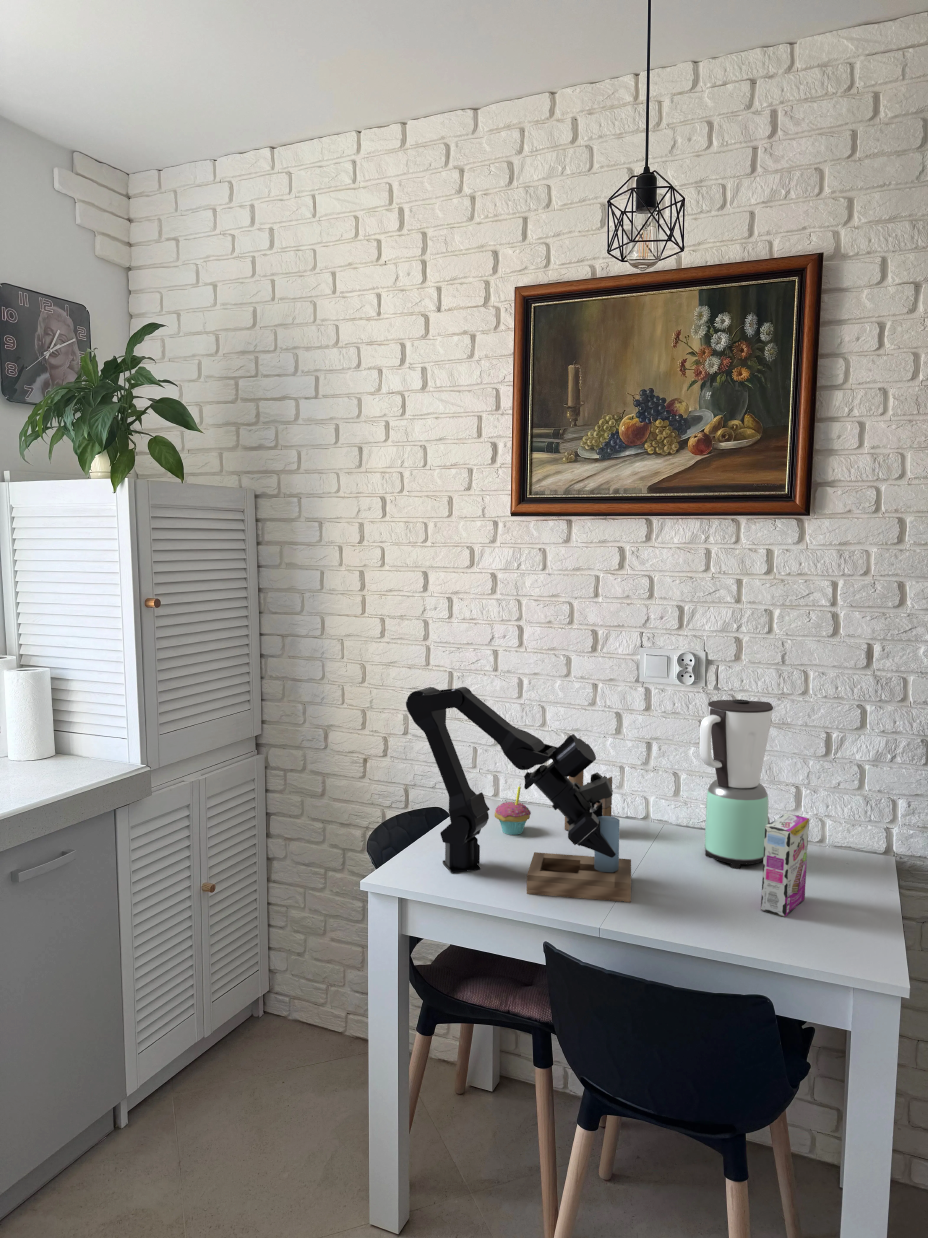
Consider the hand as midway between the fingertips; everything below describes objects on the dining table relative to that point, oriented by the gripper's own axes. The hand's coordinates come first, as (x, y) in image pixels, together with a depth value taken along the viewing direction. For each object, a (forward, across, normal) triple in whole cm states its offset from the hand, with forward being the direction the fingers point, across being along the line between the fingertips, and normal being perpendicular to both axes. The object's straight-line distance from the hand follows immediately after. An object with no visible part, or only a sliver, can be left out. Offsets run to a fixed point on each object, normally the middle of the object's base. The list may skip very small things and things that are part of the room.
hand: (614, 848), depth 173 cm
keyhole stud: (+4, 0, +6) cm, 8 cm away
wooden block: (+1, +33, +11) cm, 35 cm away
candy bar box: (+29, -2, -17) cm, 33 cm away
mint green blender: (+24, +22, -12) cm, 34 cm away
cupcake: (-11, +30, +23) cm, 40 cm away
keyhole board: (+1, 0, +10) cm, 11 cm away
